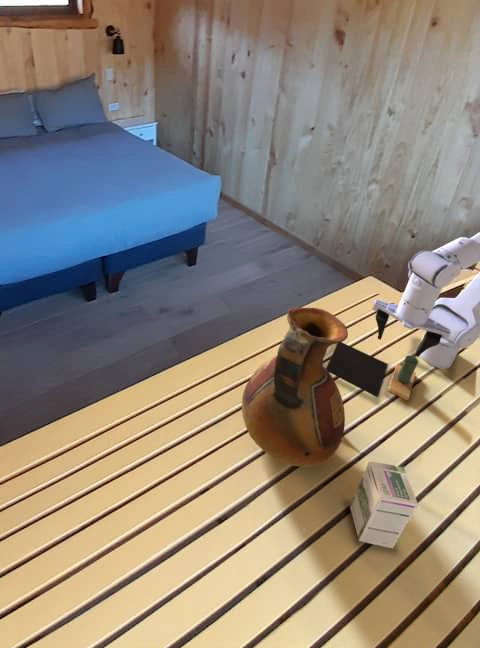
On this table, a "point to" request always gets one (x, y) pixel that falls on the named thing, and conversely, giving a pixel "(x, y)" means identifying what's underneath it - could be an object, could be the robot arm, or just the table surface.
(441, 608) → the table surface
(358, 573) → the table surface
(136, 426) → the table surface
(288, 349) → the ceramic pitcher
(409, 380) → the brush
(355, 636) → the table surface
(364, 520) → the syrup box
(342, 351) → the enamel panel
